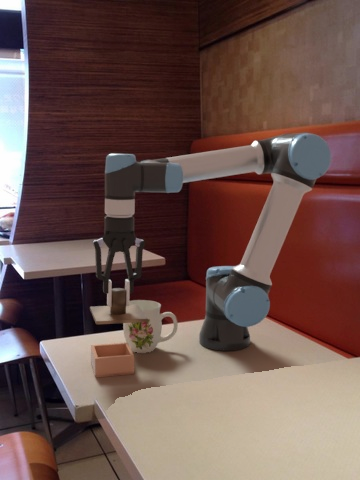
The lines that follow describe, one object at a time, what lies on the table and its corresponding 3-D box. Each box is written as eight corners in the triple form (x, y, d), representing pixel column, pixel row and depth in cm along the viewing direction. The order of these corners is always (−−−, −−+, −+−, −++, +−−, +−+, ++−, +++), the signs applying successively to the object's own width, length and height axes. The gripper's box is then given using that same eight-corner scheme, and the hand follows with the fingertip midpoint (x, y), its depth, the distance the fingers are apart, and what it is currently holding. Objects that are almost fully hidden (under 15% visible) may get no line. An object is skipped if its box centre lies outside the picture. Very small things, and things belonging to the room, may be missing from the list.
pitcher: (177, 356, 165) (178, 308, 162) (113, 356, 164) (112, 308, 162) (176, 342, 176) (177, 298, 173) (116, 342, 175) (115, 297, 173)
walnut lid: (137, 307, 161) (138, 283, 160) (147, 321, 149) (148, 295, 148) (89, 309, 158) (90, 284, 156) (96, 324, 145) (96, 297, 144)
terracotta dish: (127, 359, 162) (127, 342, 161) (134, 374, 152) (134, 355, 151) (91, 362, 159) (90, 345, 158) (95, 377, 150) (95, 358, 149)
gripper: (149, 213, 155) (147, 300, 159) (84, 213, 150) (83, 302, 154) (155, 217, 147) (153, 307, 151) (87, 217, 143) (86, 310, 147)
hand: (118, 304), depth 153 cm, fingers closed on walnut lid, 4 cm apart
